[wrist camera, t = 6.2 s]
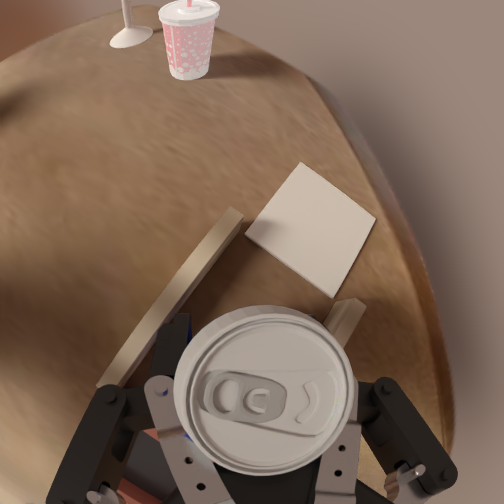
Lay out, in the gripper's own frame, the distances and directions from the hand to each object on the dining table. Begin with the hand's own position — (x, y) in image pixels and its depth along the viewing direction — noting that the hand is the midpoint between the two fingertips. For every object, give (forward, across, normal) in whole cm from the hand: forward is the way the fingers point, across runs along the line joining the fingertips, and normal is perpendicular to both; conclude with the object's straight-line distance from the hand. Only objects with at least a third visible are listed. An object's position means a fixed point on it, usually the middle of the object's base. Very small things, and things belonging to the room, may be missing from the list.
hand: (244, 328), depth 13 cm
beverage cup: (+26, -6, +14) cm, 30 cm away
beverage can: (+5, 0, -7) cm, 9 cm away
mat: (+12, +7, 0) cm, 14 cm away
